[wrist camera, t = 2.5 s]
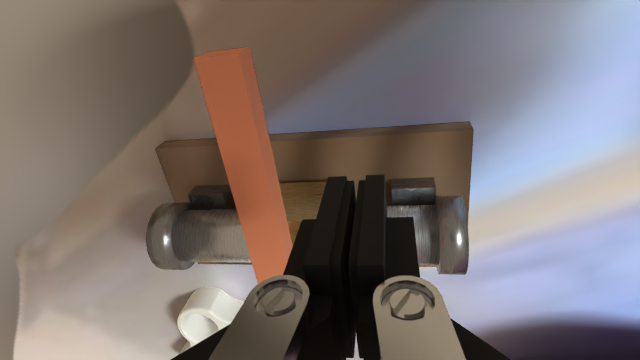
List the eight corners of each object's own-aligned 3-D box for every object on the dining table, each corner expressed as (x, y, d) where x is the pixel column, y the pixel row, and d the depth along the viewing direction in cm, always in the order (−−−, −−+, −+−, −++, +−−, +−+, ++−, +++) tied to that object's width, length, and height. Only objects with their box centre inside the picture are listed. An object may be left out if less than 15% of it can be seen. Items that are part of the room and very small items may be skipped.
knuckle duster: (163, 328, 45) (218, 261, 38) (284, 400, 48) (356, 350, 41) (147, 352, 42) (203, 285, 35) (277, 427, 45) (354, 379, 38)
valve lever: (258, 45, 16) (247, 52, 15) (310, 302, 24) (306, 320, 22) (199, 52, 17) (184, 59, 16) (268, 300, 24) (261, 318, 23)
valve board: (469, 121, 26) (473, 129, 25) (462, 255, 32) (464, 267, 31) (164, 141, 31) (155, 148, 30) (204, 253, 37) (198, 263, 36)
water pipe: (456, 170, 27) (478, 244, 20) (453, 237, 29) (471, 324, 22) (178, 181, 31) (114, 244, 24) (198, 238, 34) (147, 310, 27)
